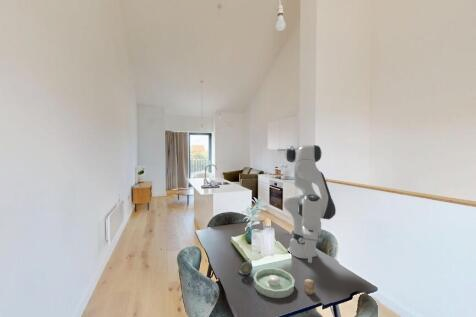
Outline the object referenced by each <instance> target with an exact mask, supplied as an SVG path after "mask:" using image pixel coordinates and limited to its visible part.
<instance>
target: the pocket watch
mask: <svg viewBox="0 0 476 317" xmlns="http://www.w3.org/2000/svg"><path fill="white" fill-rule="evenodd" d="M249 259H250V258H249V257H245V258H244V261H245V262H243V263H242V264H241V265H240V268H238V273H239V274H240V275H244V276H246V275H250V273H251V272H252V271H253V265H252V263H251V262H250V261H249Z"/></svg>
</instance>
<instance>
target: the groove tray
mask: <svg viewBox="0 0 476 317" xmlns="http://www.w3.org/2000/svg"><path fill="white" fill-rule="evenodd" d="M252 279H253V287H254V288H255V290H256V292H258V293H259V294H261V295H262V296H265V297H267V298H272V299H283V298H288V297H290V296H291V295H292V294H293V293H294V291H295V285H296V284H295V283H296V282H295V278H294V277H293V276H292V274H291V273H290V272H288V271H285V270H284V269H281V268H276V267H265V268H264V267H263V268H261V269H259V270H257V271H255V273H254V275H253V278H252Z"/></svg>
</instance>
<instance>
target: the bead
mask: <svg viewBox="0 0 476 317" xmlns="http://www.w3.org/2000/svg"><path fill="white" fill-rule="evenodd" d="M303 284H304V288H303V289H304V290H303V292H304V293H305V294H306V295H310V296H312V295H314V293H315V290H314V289H315V281H314V280H313V279H310V278H308V279H305V280H304V282H303Z"/></svg>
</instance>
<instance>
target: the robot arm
mask: <svg viewBox="0 0 476 317" xmlns="http://www.w3.org/2000/svg"><path fill="white" fill-rule="evenodd" d="M284 154H285V156H284V157H285V158H286V161H288V162H289V163H294V167H293V185H294V187H295V188H296V189H298V190H301V192H302V194H292V195H287V196H285V197H284V200H283V207H284V209H285V210H286V212H288V213H289V214H290V216H291V218H292V219H293V221H292V222H293V231H292V238H290V240H289V242H290V243H289V247H288V248H287V250H288V251H289V252H291V253H292V254H291V253H290V254H291V255H292V256H293V257H296V258H298V259H307V262H308V263H310V264H311V263H313V258H314V257H315V258H316V257H317V252H316V249H317V248H316V247H317V243H318V240H319V237H320V235H321V234H322V221H321V219H323V220H331V219H332V218H333V217H334V216H335V215H336V211H337V210H336V205H335V203H334V200H333V198H332V196H331V193H330V190H329V186H328V184H327V180H326V178H325V177H326V176H324V173H323V172H321V171H320V170H319V169H318V167H317V165H316V163H317V162H319V161H320V160H321V159H322V154H323V152H322V149H321V147H320V145H316V144H313V145H312V144H301V145H289V146H288V147H287V148H286V149H285V153H284ZM313 184H314V185H315V186H317V187H318V190H319V193H320V195H318V194H317V192H316V191H315V189H314V187H313ZM287 250H286V251H287ZM289 252H288V253H289Z"/></svg>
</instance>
